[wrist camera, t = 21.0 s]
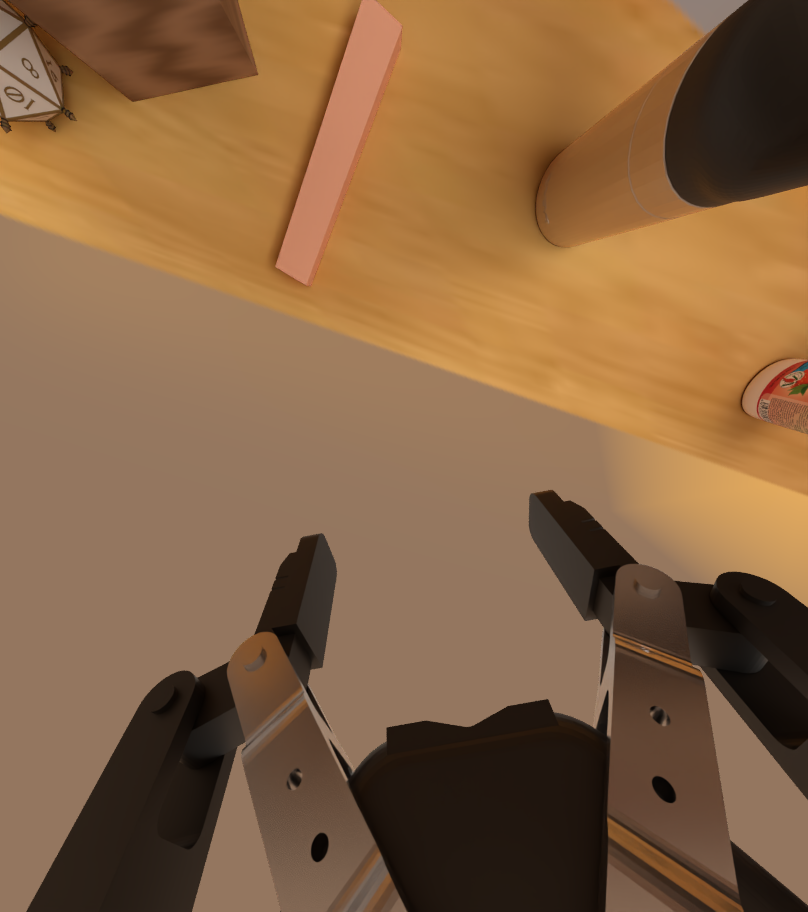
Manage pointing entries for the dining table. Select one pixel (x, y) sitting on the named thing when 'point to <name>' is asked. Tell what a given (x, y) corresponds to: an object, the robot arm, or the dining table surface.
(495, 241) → the dining table surface
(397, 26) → the terracotta bar
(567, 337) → the dining table surface
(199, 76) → the walnut pedestal
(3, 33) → the game die
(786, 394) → the fruit juice
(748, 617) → the robot arm
